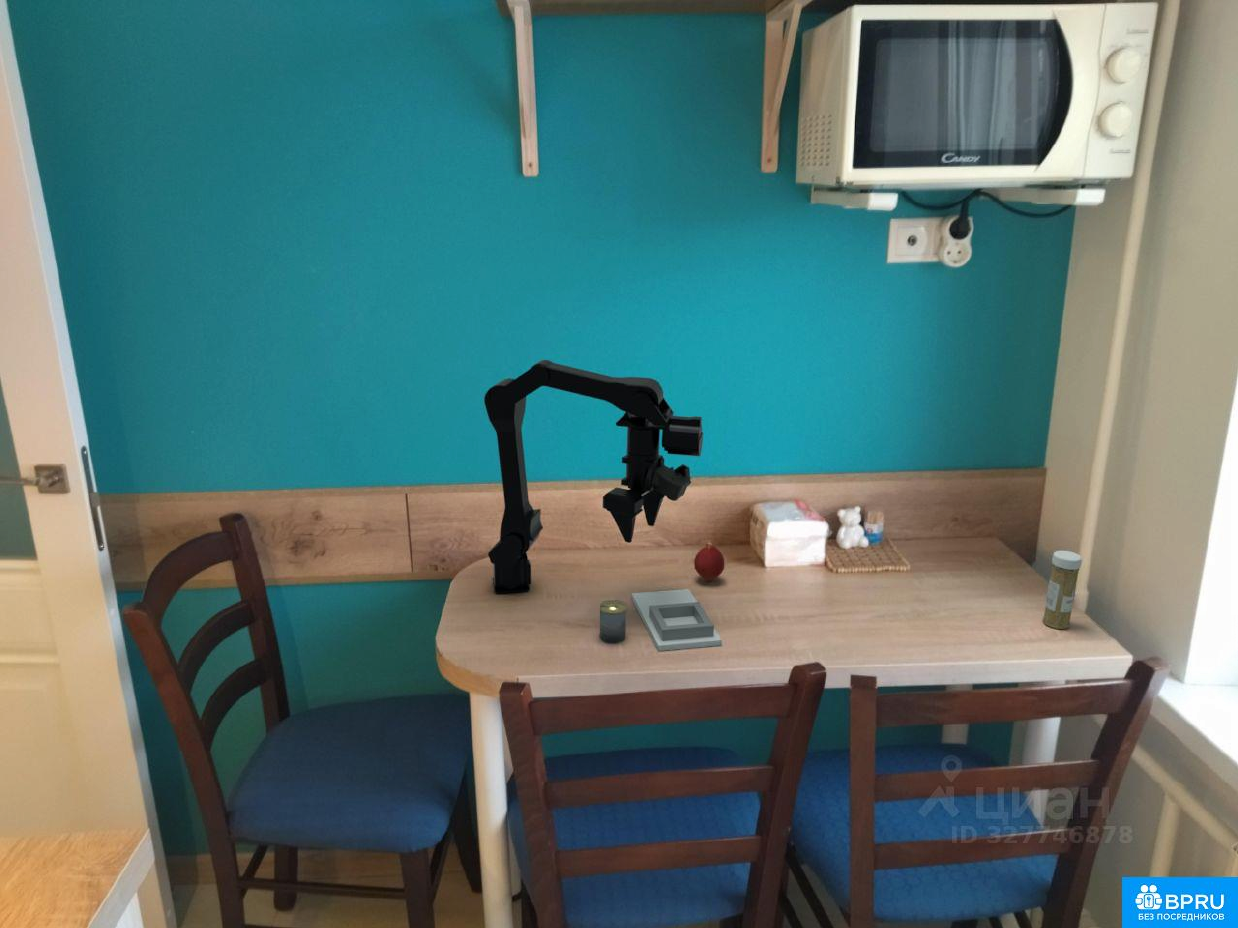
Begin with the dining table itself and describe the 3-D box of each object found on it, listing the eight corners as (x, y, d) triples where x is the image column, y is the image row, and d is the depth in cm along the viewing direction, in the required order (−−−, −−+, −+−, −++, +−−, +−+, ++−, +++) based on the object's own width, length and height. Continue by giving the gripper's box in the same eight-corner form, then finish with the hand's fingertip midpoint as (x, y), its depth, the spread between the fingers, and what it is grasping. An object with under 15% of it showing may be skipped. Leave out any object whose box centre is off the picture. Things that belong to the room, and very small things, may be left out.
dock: (658, 650, 153) (658, 634, 152) (631, 598, 172) (631, 583, 171) (721, 645, 155) (722, 629, 154) (688, 593, 174) (689, 579, 173)
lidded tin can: (602, 644, 155) (602, 612, 153) (597, 632, 159) (597, 600, 157) (627, 642, 156) (628, 610, 154) (622, 630, 160) (623, 598, 158)
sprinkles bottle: (1071, 631, 162) (1084, 561, 158) (1043, 627, 163) (1055, 557, 159) (1067, 620, 166) (1080, 551, 162) (1040, 616, 168) (1052, 548, 164)
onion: (706, 572, 183) (708, 534, 181) (729, 581, 180) (731, 543, 177) (687, 580, 180) (689, 542, 177) (710, 589, 176) (712, 551, 173)
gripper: (661, 473, 151) (658, 561, 155) (705, 445, 166) (701, 525, 171) (601, 461, 155) (600, 547, 160) (650, 436, 171) (647, 514, 176)
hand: (639, 533), depth 167 cm, fingers open, 9 cm apart
